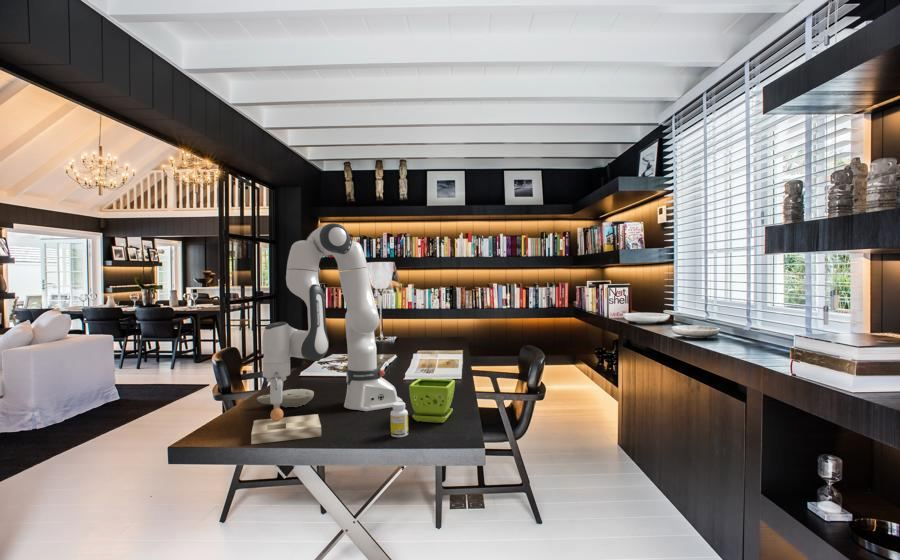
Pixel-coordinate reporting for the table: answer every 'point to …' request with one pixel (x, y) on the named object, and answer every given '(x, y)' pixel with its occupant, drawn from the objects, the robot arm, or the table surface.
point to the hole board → (285, 429)
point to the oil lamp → (290, 397)
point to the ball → (276, 414)
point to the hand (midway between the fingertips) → (276, 411)
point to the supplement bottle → (399, 420)
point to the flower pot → (431, 399)
